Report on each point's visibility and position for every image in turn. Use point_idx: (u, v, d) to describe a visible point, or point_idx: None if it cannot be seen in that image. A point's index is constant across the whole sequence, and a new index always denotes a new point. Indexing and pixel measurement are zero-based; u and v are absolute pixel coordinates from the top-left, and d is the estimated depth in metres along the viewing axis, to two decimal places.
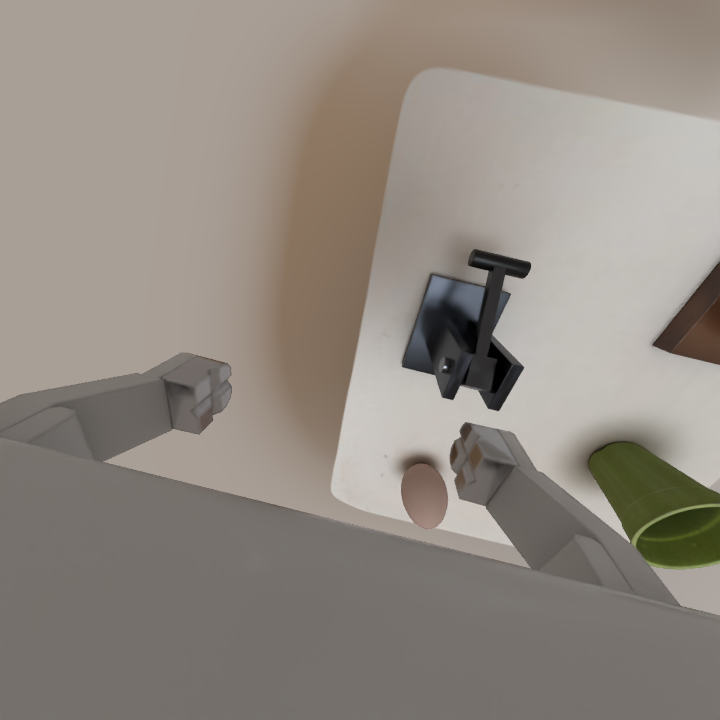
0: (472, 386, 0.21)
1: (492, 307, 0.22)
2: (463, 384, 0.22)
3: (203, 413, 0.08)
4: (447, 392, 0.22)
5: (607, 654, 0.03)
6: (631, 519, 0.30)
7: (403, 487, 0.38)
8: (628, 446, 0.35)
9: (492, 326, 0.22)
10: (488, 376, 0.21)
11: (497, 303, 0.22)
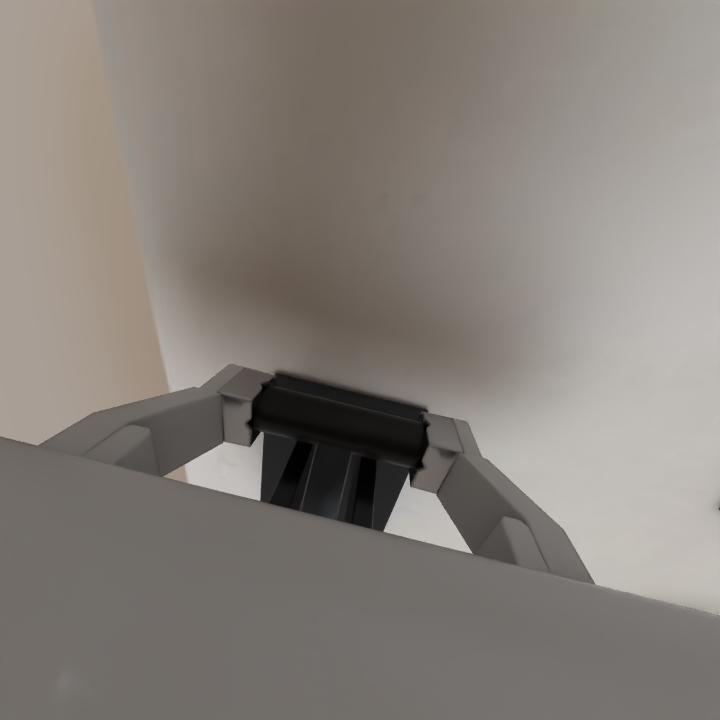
0: None
1: None
2: None
3: None
4: None
5: (607, 654, 0.03)
6: None
7: None
8: None
9: None
10: None
11: None
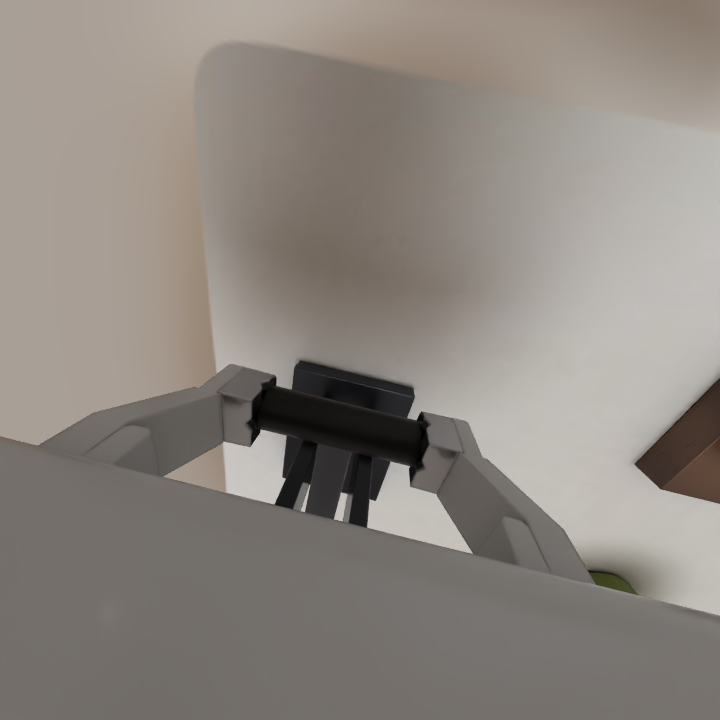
0: None
1: None
2: None
3: (254, 426, 0.08)
4: None
5: (607, 654, 0.03)
6: None
7: None
8: (605, 583, 0.25)
9: None
10: None
11: (330, 515, 0.09)
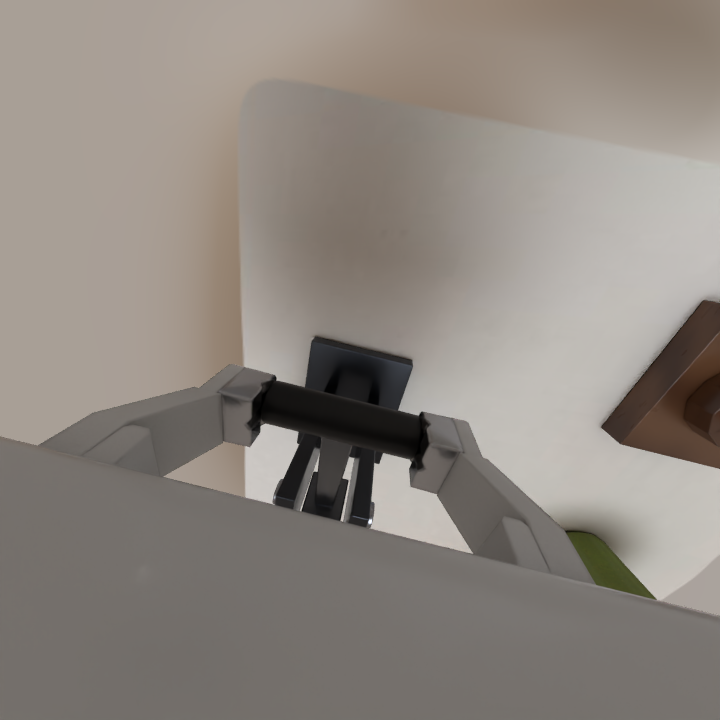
0: None
1: (330, 478, 0.11)
2: None
3: (254, 426, 0.08)
4: None
5: (607, 654, 0.03)
6: None
7: None
8: (582, 540, 0.28)
9: (335, 491, 0.12)
10: None
11: (339, 476, 0.11)
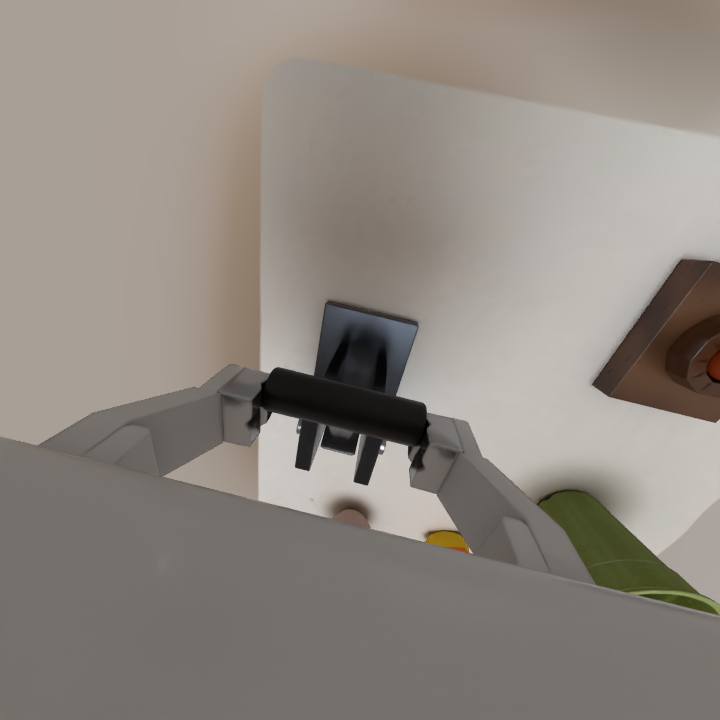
0: (331, 449, 0.18)
1: (342, 433, 0.12)
2: None
3: (254, 426, 0.08)
4: (299, 462, 0.17)
5: (607, 654, 0.03)
6: None
7: None
8: (576, 497, 0.30)
9: (348, 437, 0.14)
10: None
11: (349, 434, 0.12)
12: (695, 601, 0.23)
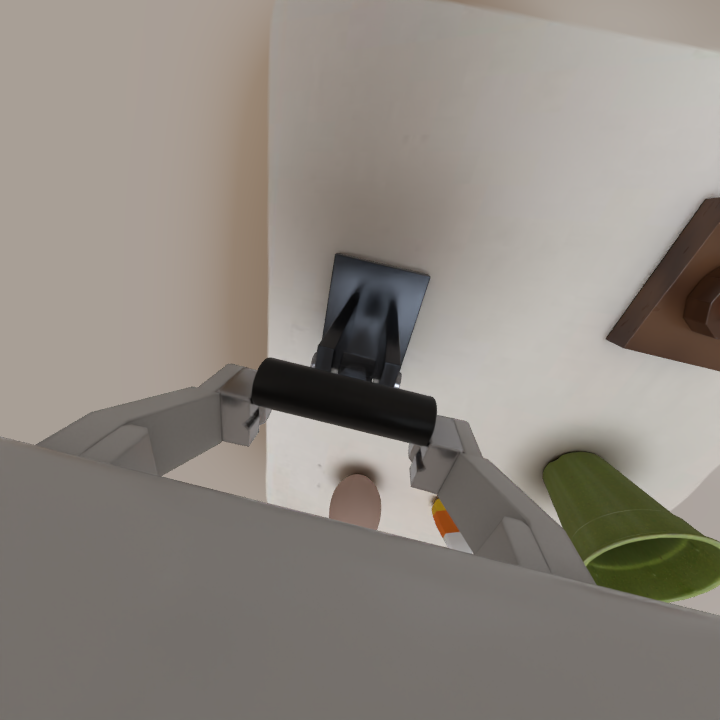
0: None
1: None
2: None
3: (253, 425, 0.08)
4: None
5: (607, 654, 0.03)
6: (578, 547, 0.25)
7: (331, 502, 0.34)
8: (584, 457, 0.30)
9: None
10: None
11: None
12: (703, 549, 0.23)
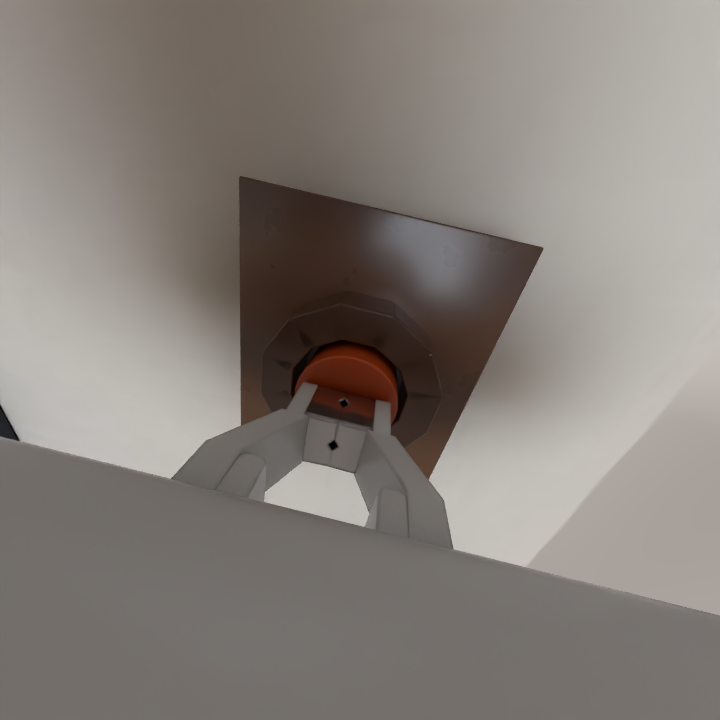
0: None
1: None
2: None
3: (333, 445, 0.08)
4: None
5: (607, 654, 0.03)
6: None
7: None
8: None
9: None
10: None
11: None
12: None
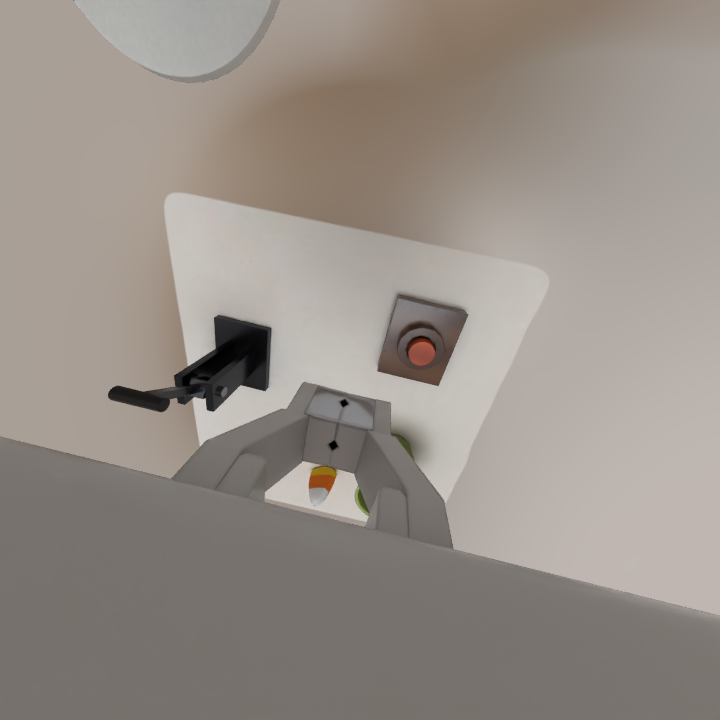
0: None
1: None
2: None
3: (333, 445, 0.08)
4: (179, 399, 0.34)
5: (607, 654, 0.03)
6: None
7: None
8: None
9: (184, 395, 0.31)
10: None
11: (171, 398, 0.29)
12: None
